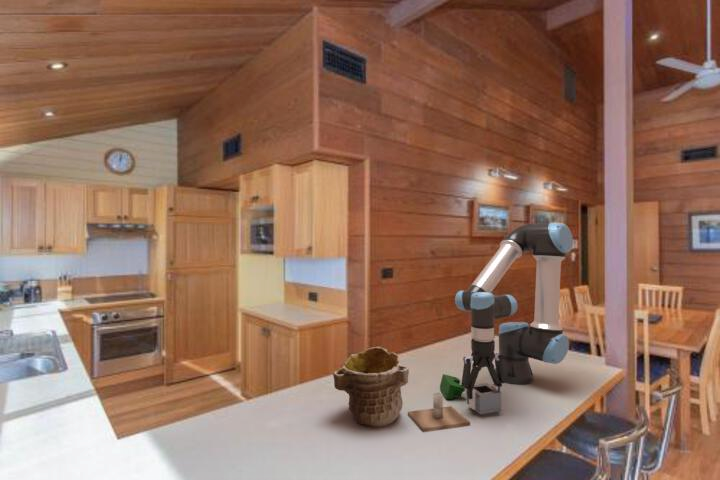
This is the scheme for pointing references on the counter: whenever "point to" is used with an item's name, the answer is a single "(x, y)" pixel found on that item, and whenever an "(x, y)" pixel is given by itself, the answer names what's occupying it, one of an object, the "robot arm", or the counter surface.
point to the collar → (486, 398)
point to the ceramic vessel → (373, 385)
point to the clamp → (451, 387)
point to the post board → (438, 416)
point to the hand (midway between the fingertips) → (483, 406)
